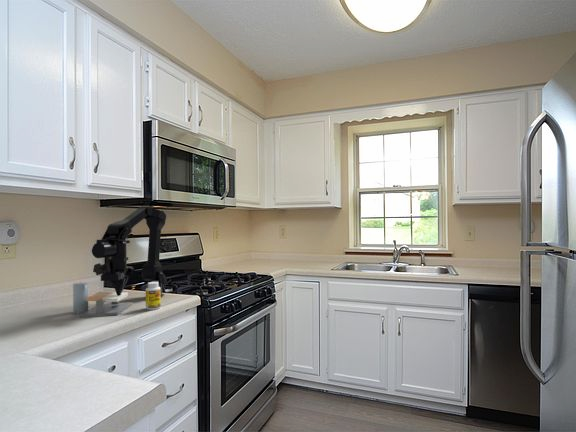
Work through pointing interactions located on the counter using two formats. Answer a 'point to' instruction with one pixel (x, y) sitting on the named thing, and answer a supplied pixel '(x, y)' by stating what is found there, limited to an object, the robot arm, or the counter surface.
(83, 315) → the switch base
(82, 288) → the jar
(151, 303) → the supplement bottle
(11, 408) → the counter surface
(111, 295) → the two-tone square pad
